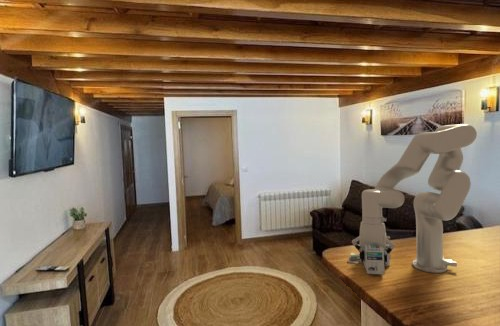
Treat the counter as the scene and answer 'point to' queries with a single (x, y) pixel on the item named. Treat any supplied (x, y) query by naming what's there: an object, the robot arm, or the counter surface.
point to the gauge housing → (359, 254)
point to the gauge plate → (385, 262)
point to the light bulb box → (374, 259)
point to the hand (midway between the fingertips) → (373, 261)
